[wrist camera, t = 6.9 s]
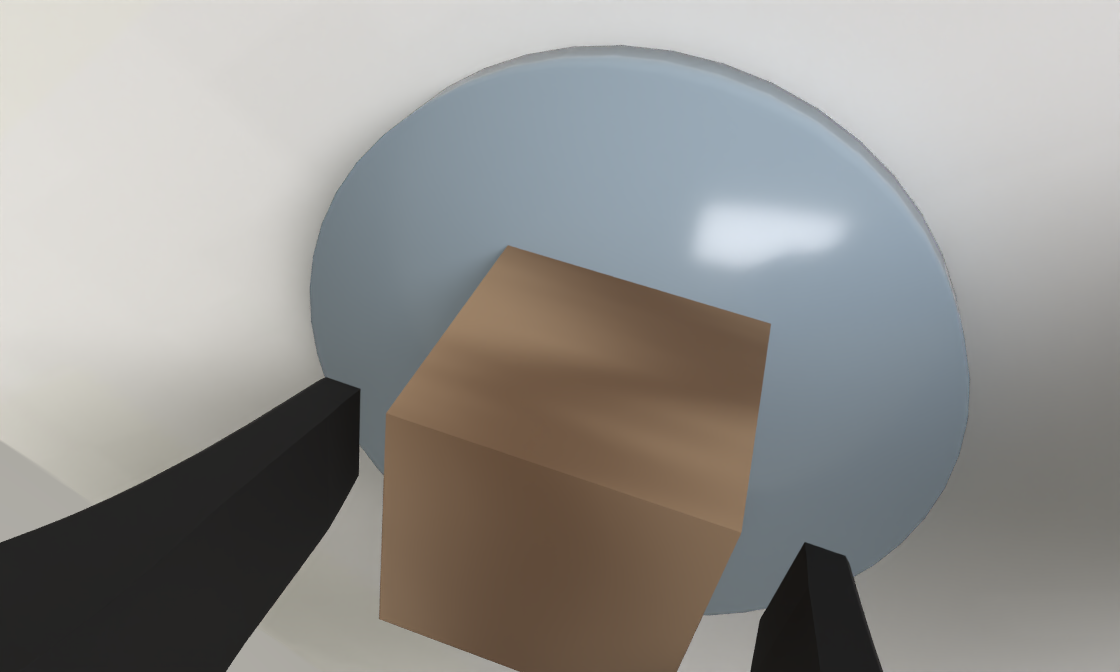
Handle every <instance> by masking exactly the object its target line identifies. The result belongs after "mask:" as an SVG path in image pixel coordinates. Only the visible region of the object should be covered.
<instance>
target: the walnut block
mask: <svg viewBox="0 0 1120 672" xmlns="http://www.w3.org/2000/svg"><path fill="white" fill-rule="evenodd" d="M770 328H771V323H767V322H764V321H761V320H757V319H754V318H750V317H747V316H744V315H740V314H737V313H734V312H730V311H727V310H724V309H720V308H717V307H714V306H710V305H707V304H704V303H700V302H697V301H693V300H690V299H687V298H683V297H680V296H677V295H673V294H670V293H667V292H663V291H660V290H657V289H653V288H650V287H647V286H643V285H640V284H636V283H633V282H630V281H626V280H623V279H620V278H616V277H613V276H610V275H606V274H603V273H600V272H596V271H593V270H590V269H586V268H583V267H580V266H576V265H573V264H569V263H566V262H563V261H559V260H556V259H553V258H549V257H546V256H543V255H539V254H536V253H533V252H529V251H526V250H523V249H519V248H516V247H512V246H509V245H508V246H507V247H506V248H505V250H504V251H503V253H502V254H501V255H500V257H499V258H498V259H497V261H496V262H495V264H494V265H493V266H492V268H491V269H490V270H489V272H488V273H487V275H486V276H485V277H484V279H483V280H482V282H481V283H480V284H479V286H478V287H477V288H476V290H475V291H474V293H473V294H472V295H471V297H470V298H469V299H468V301H467V302H466V304H465V305H464V306H463V308H462V309H461V310H460V312H459V313H458V315H457V316H456V317H455V319H454V320H453V322H452V323H451V324H450V326H449V327H448V328H447V330H446V331H445V333H444V334H443V335H442V337H441V338H440V339H439V341H438V342H437V344H436V345H435V346H434V348H433V349H432V350H431V352H430V353H429V355H428V356H427V357H426V359H425V360H424V362H423V363H422V364H421V366H420V367H419V368H418V370H417V371H416V373H415V374H414V375H413V377H412V378H411V379H410V381H409V382H408V384H407V385H406V386H405V388H404V389H403V390H402V392H401V393H400V395H399V396H398V397H397V399H396V400H395V402H394V403H393V404H392V406H391V407H390V408H389V410H388V411H387V413H386V427H385V457H384V488H383V518H382V549H381V579H380V610H379V619H381V620H383V621H386V622H389V623H391V624H394V625H397V626H399V627H402V628H405V629H407V630H410V631H413V632H415V633H418V634H421V635H423V636H426V637H429V638H431V639H434V640H437V641H439V642H442V643H445V644H447V645H450V646H453V647H455V648H458V649H461V650H463V651H466V652H469V653H471V654H474V655H477V656H479V657H482V658H485V659H487V660H490V661H493V662H495V663H498V664H501V665H504V666H506V667H509V668H512V669H514V670H517V671H520V672H677V670H678V668H679V666H680V664H681V661H682V659H683V657H684V655H685V653H686V651H687V649H688V646H689V644H690V642H691V640H692V638H693V636H694V633H695V631H696V629H697V627H698V625H699V623H700V621H701V618H702V616H703V614H704V612H705V610H706V608H707V606H708V603H709V601H710V599H711V597H712V595H713V593H714V591H715V588H716V586H717V584H718V582H719V580H720V578H721V576H722V573H723V571H724V569H725V567H726V565H727V563H728V560H729V558H730V556H731V554H732V552H733V550H734V548H735V545H736V543H737V541H738V539H739V537H740V535H741V532H742V525H743V518H744V511H745V504H746V497H747V490H748V483H749V476H750V469H751V462H752V455H753V448H754V441H755V434H756V427H757V420H758V413H759V406H760V399H761V392H762V385H763V378H764V371H765V364H766V357H767V350H768V343H769V335H770Z"/></svg>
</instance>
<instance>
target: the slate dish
mask: <svg viewBox="0 0 1120 672" xmlns="http://www.w3.org/2000/svg"><path fill="white" fill-rule="evenodd" d="M508 245H509V246H512V247H516V248H519V249H523V250H526V251H529V252H533V253H536V254H539V255H543V256H546V257H549V258H553V259H556V260H559V261H563V262H566V263H569V264H573V265H576V266H580V267H583V268H586V269H590V270H593V271H596V272H600V273H603V274H606V275H610V276H613V277H616V278H620V279H623V280H626V281H630V282H633V283H636V284H640V285H643V286H647V287H650V288H653V289H657V290H660V291H663V292H667V293H670V294H673V295H677V296H680V297H683V298H687V299H690V300H693V301H697V302H700V303H704V304H707V305H710V306H714V307H717V308H720V309H724V310H727V311H730V312H734V313H737V314H740V315H744V316H747V317H750V318H754V319H757V320H761V321H764V322H767V323H771V328H770V335H769V343H768V350H767V357H766V364H765V371H764V378H763V385H762V392H761V399H760V406H759V413H758V420H757V427H756V434H755V441H754V448H753V455H752V462H751V469H750V476H749V483H748V490H747V497H746V504H745V511H744V518H743V525H742V532H741V535H740V537H739V539H738V541H737V543H736V545H735V548H734V550H733V552H732V554H731V556H730V558H729V560H728V563H727V565H726V567H725V569H724V571H723V573H722V576H721V578H720V580H719V582H718V584H717V586H716V588H715V591H714V593H713V595H712V597H711V599H710V601H709V603H708V606H707V608H706V610H705V612H704V614H703V615H718V614H730V613H743V612H749V611H754V610H760V609H765V608H767V607H768V605H769V603H770V601H771V600H772V598H773V596H774V594H775V593H776V591H777V589H778V587H779V586H780V584H781V582H782V580H783V579H784V577H785V575H786V573H787V572H788V570H789V568H790V566H791V565H792V563H793V561H794V560H795V558H796V556H797V554H798V553H799V551H800V549H801V547H802V546H803V544H804V542H807V543H810V544H813V545H815V546H818V547H821V548H824V549H827V550H830V551H833V552H836V553H839V554H842V555H844V556H846V558H847V559H848V561H849V563H850V566H851V570H852V574H853V577H854V576H856V575H858V574H859V573H861V572H863V571H864V570H866V569H868V568H870V567H871V566H873V565H874V564H876V563H877V562H878V561H879V560H881V559H882V558H883V557H885V556H886V555H887V554H888V553H890V552H891V551H892V550H893V549H895V548H896V547H897V546H898V545H900V544H901V543H902V542H903V541H904V540H905V539H906V538H907V536H908V535H909V534H910V533H911V532H912V531H913V530H914V529H915V528H916V527H917V526H918V525H919V524H920V523H921V522H922V520H923V519H924V518H925V517H926V515H927V514H928V512H929V511H930V509H931V508H932V506H933V505H934V503H935V502H936V500H937V499H938V497H939V496H940V494H941V493H942V491H943V490H944V488H945V486H946V484H947V482H948V479H949V477H950V475H951V472H952V470H953V468H954V466H955V463H956V461H957V459H958V456H959V454H960V449H961V445H962V441H963V437H964V432H965V428H966V424H967V420H968V404H969V383H970V377H969V369H968V362H967V355H966V347H965V340H964V334H963V329H962V324H961V319H960V314H959V309H958V304H957V299H956V295H955V291H954V288H953V285H952V282H951V279H950V276H949V273H948V269H947V266H946V263H945V260H944V257H943V254H942V252H941V250H940V248H939V246H938V244H937V242H936V240H935V238H934V236H933V234H932V232H931V231H930V229H929V227H928V225H927V223H926V221H925V219H924V217H923V215H922V213H921V212H920V211H919V209H918V208H917V206H916V205H915V204H914V202H913V201H912V200H911V198H910V197H909V195H908V194H907V193H906V191H905V190H904V189H903V187H902V186H901V184H900V183H899V182H898V180H897V179H896V177H895V176H894V175H893V174H892V173H891V172H890V171H889V170H888V169H887V168H886V167H885V166H884V165H883V164H882V163H881V162H880V161H879V160H878V159H877V158H876V157H875V156H874V155H873V154H872V153H871V152H870V151H869V150H868V149H867V148H866V147H865V145H864V144H863V143H862V142H861V141H860V140H858V139H857V138H856V137H854V136H853V135H852V134H850V133H849V132H848V131H847V130H845V129H844V128H843V127H841V126H840V125H839V124H837V123H836V122H835V121H833V120H832V119H831V118H830V117H828V116H827V115H826V114H824V113H823V112H822V111H820V110H819V109H817V108H816V107H814V106H812V105H810V104H809V103H807V102H805V101H803V100H802V99H800V98H798V97H796V96H794V95H793V94H791V93H789V92H787V91H786V90H784V89H782V88H780V87H779V86H777V85H775V84H773V83H771V82H768V81H766V80H763V79H761V78H758V77H756V76H753V75H751V74H748V73H746V72H743V71H741V70H738V69H736V68H733V67H731V66H728V65H726V64H723V63H719V62H715V61H711V60H707V59H703V58H699V57H695V56H691V55H687V54H683V53H679V52H675V51H669V50H660V49H651V48H642V47H633V46H624V45H616V46H579V47H568V48H562V49H556V50H550V51H545V52H539V53H533V54H527V55H524V56H521V57H518V58H515V59H512V60H509V61H506V62H502V63H499V64H496V65H493V66H490V67H487V68H484V69H482V70H480V71H478V72H476V73H474V74H472V75H470V76H469V77H467V78H465V79H463V80H461V81H459V82H457V83H455V84H453V85H451V86H449V87H447V88H446V89H444V90H443V91H441V92H440V93H439V94H437V95H436V96H435V97H433V98H432V99H430V100H429V101H428V102H426V103H425V104H424V105H422V106H421V107H419V108H418V109H417V110H415V111H414V112H413V113H411V114H410V115H409V116H408V117H406V118H405V119H404V120H402V121H401V122H400V123H399V124H397V125H396V126H395V127H393V128H392V129H391V130H390V131H388V132H387V133H386V134H384V135H383V136H382V137H381V138H380V139H379V140H378V141H377V142H376V143H375V144H374V145H373V146H372V148H371V149H370V150H369V151H368V152H367V153H366V154H365V155H364V156H363V157H362V158H361V159H360V160H359V161H358V162H357V163H356V165H355V166H354V167H353V169H352V170H351V172H350V173H349V175H348V176H347V178H346V179H345V181H344V182H343V183H342V185H341V186H340V188H339V189H338V191H337V192H336V194H335V196H334V199H333V201H332V203H331V205H330V207H329V210H328V212H327V214H326V216H325V218H324V220H323V223H322V225H321V229H320V233H319V237H318V240H317V244H316V248H315V251H314V255H313V263H312V273H311V282H310V304H311V323H312V328H313V333H314V339H315V344H316V349H317V354H318V357H319V360H320V363H321V366H322V370H323V373H324V376H325V377H328V378H331V379H334V380H337V381H339V382H342V383H345V384H348V385H351V386H354V387H357V388H360V389H361V394H360V438H359V444H360V446H361V447H362V448H363V450H364V451H365V452H366V454H367V455H368V456H369V458H370V459H371V460H372V462H373V463H374V464H375V466H376V467H377V468H378V469H379V471H380V472H381V473H382V474H383V475H384V457H385V427H386V413H387V411H388V410H389V408H390V407H391V406H392V404H393V403H394V402H395V400H396V399H397V397H398V396H399V395H400V393H401V392H402V390H403V389H404V388H405V386H406V385H407V384H408V382H409V381H410V379H411V378H412V377H413V375H414V374H415V373H416V371H417V370H418V368H419V367H420V366H421V364H422V363H423V362H424V360H425V359H426V357H427V356H428V355H429V353H430V352H431V350H432V349H433V348H434V346H435V345H436V344H437V342H438V341H439V339H440V338H441V337H442V335H443V334H444V333H445V331H446V330H447V328H448V327H449V326H450V324H451V323H452V322H453V320H454V319H455V317H456V316H457V315H458V313H459V312H460V310H461V309H462V308H463V306H464V305H465V304H466V302H467V301H468V299H469V298H470V297H471V295H472V294H473V293H474V291H475V290H476V288H477V287H478V286H479V284H480V283H481V282H482V280H483V279H484V277H485V276H486V275H487V273H488V272H489V270H490V269H491V268H492V266H493V265H494V264H495V262H496V261H497V259H498V258H499V257H500V255H501V254H502V253H503V251H504V250H505V248H506V247H507V246H508Z"/></svg>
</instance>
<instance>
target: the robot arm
mask: <svg viewBox="0 0 1120 672" xmlns="http://www.w3.org/2000/svg"><path fill="white" fill-rule="evenodd" d="M360 394H361V389H360V388H357V387H354V386H351V385H348V384H345V383H342V382H339V381H337V380H334V379H331V378H328V377H325V378H323V379H321V380H319V381H317V382H316V383H314V384H313V385H311V386H309V387H308V388H306V389H304V390H303V391H301V392H300V393H298V394H296V395H295V396H293V397H292V398H290V399H288V400H287V401H285V402H283V403H282V404H280V405H279V406H277V407H275V408H274V409H272V410H271V411H269V412H267V413H266V414H264V415H262V416H261V417H259V418H257V419H256V420H254V421H253V422H251V423H249V424H248V425H246V426H244V427H242V428H241V429H239V430H237V431H236V432H234V433H232V434H230V435H229V436H227V437H225V438H224V439H222V440H220V441H218V442H217V443H215V444H213V445H212V446H210V447H208V448H206V449H205V450H203V451H201V452H199V453H197V454H196V455H194V456H192V457H190V458H188V459H186V460H184V461H182V462H181V463H179V464H177V465H175V466H173V467H171V468H169V469H167V470H165V471H163V472H162V473H160V474H158V475H156V476H154V477H152V478H150V479H148V480H146V481H144V482H142V483H140V484H138V485H136V486H134V487H132V488H130V489H128V490H126V491H124V492H122V493H120V494H118V495H115V496H113V497H111V498H109V499H107V500H105V501H102V502H100V503H98V504H96V505H93V506H91V507H89V508H87V509H84V510H82V511H80V512H78V513H75V514H73V515H70V516H68V517H66V518H63V519H61V520H58V521H56V522H53V523H51V524H48V525H46V526H43V527H41V528H38V529H36V530H33V531H30V532H27V533H25V534H22V535H20V536H17V537H14V538H12V539H9V540H6V541H3V542H1V543H0V672H226V670H227V669H228V667H229V666H230V665H231V663H232V661H233V660H234V659H235V657H236V655H237V654H238V653H239V651H240V650H241V648H242V647H243V645H244V644H245V642H246V641H247V640H248V638H249V637H250V636H251V634H252V633H253V632H254V630H255V629H256V627H257V626H258V625H259V623H260V622H261V621H262V619H263V618H264V617H265V615H266V614H267V613H268V611H269V610H270V608H271V607H272V606H273V604H274V603H275V602H276V600H277V599H278V598H279V596H280V595H281V594H282V592H283V591H284V590H285V588H286V587H287V585H288V584H289V583H290V581H291V580H292V579H293V577H294V576H295V575H296V573H297V572H298V571H299V569H300V568H301V566H302V565H303V564H304V562H305V561H306V560H307V558H308V557H309V555H310V554H311V553H312V551H313V550H314V549H315V547H316V546H317V544H318V543H319V542H320V540H321V539H322V538H323V536H324V535H325V533H326V532H327V530H328V529H329V527H330V526H331V524H332V522H333V520H334V519H335V517H336V515H337V514H338V512H339V510H340V508H341V507H342V505H343V503H344V501H345V499H346V498H347V496H348V494H349V492H350V490H351V488H352V487H353V485H354V483H355V481H356V479H357V477H358V476H359V438H360ZM751 672H883V670H882V667H881V664H880V661H879V658H878V655H877V653H876V650H875V646H874V643H873V640H872V637H871V634H870V631H869V628H868V625H867V622H866V618H865V615H864V612H863V608H862V605H861V602H860V598H859V595H858V592H857V588H856V585H855V581H854V577H853V574H852V570H851V566H850V563H849V561H848V559H847V558H846V556H844V555H842V554H839V553H836V552H833V551H830V550H827V549H824V548H821V547H818V546H815V545H813V544H810V543H807V542H804V544H803V546H802V547H801V549H800V551H799V553H798V554H797V556H796V558H795V560H794V561H793V563H792V565H791V566H790V568H789V570H788V572H787V573H786V575H785V577H784V579H783V580H782V582H781V584H780V586H779V587H778V589H777V591H776V593H775V594H774V596H773V598H772V600H771V601H770V603H769V605H768V607H767V608H766V610H765V612H764V614H763V615H762V617H761V619H760V622H759V628H758V633H757V638H756V644H755V649H754V654H753V660H752V666H751Z"/></svg>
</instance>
